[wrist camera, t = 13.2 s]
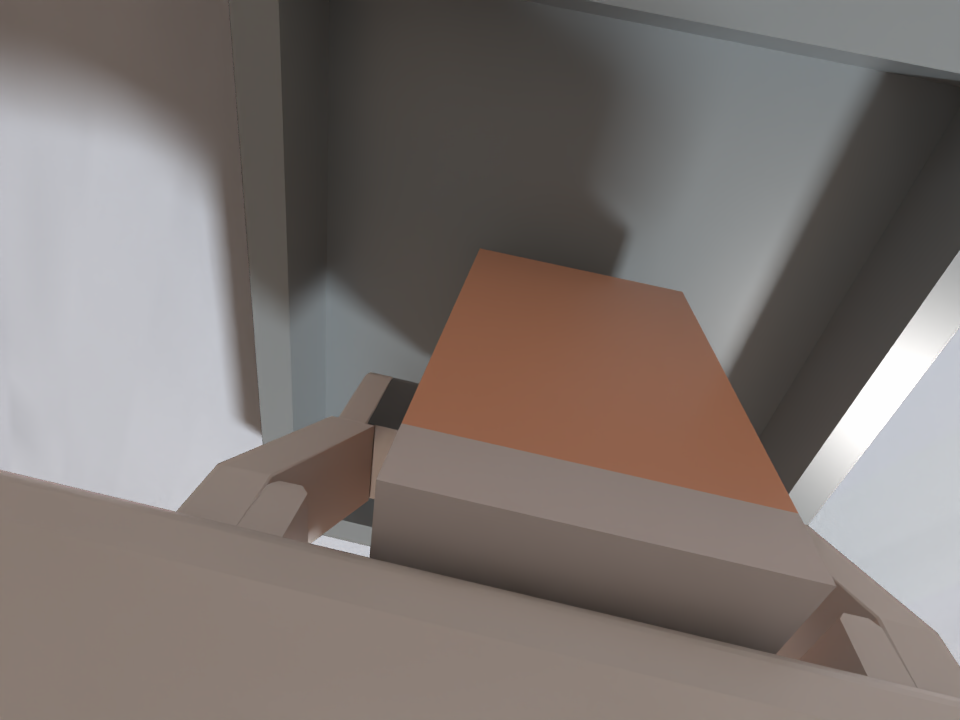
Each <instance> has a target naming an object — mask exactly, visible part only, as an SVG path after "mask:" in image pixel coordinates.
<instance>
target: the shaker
mask: <svg viewBox="0 0 960 720" xmlns="http://www.w3.org/2000/svg"><path fill="white" fill-rule="evenodd" d="M370 558H373V559H377V560H381V561H385V562H390V563H394V564H398V565H402V566H406V567H411V568H415V569H419V570H423V571H427V572H432V573H436V574H440V575H444V576H448V577H453V578H457V579H461V580H465V581H470V582H474V583H478V584H482V585H486V586H491V587H495V588H499V589H503V590H507V591H512V592H516V593H520V594H524V595H529V596H533V597H537V598H541V599H545V600H550V601H554V602H558V603H562V604H567V605H571V606H575V607H579V608H583V609H588V610H592V611H596V612H600V613H604V614H609V615H613V616H617V617H621V618H626V619H630V620H634V621H638V622H642V623H647V624H651V625H655V626H659V627H663V628H667V629H672V630H676V631H680V632H684V633H688V634H692V635H697V636H701V637H705V638H709V639H713V640H717V641H722V642H726V643H730V644H734V645H738V646H743V647H747V648H751V649H755V650H759V651H763V652H768V653H772V654H776V653H777V652H778V651H779V650H780V649H781V648H782V647H783V646H784V644H785V643H786V642H787V641H788V640H789V639H790V638H791V637H792V636H793V634H794V633H795V632H796V631H797V630H798V629H799V628H800V627H801V625H802V624H803V623H804V622H805V621H806V620H807V619H808V618H809V616H810V615H811V614H812V613H813V612H814V611H815V610H816V609H817V608H818V606H819V605H820V604H821V603H822V602H823V601H824V600H825V599H826V597H827V596H828V595H829V594H830V593H831V592H832V591H833V590H834V589H835V587H836V584H835V582H834V580H833V578H832V576H831V574H830V573H829V571H828V569H827V567H826V565H825V563H824V561H823V559H822V557H821V555H820V554H819V552H818V550H817V548H816V546H815V544H814V542H813V540H812V538H811V536H810V534H809V533H808V531H807V529H806V527H805V525H804V523H803V521H802V519H801V517H800V515H799V513H798V512H797V510H796V508H795V506H794V504H793V502H792V500H791V498H790V496H789V494H788V492H787V491H786V489H785V487H784V485H783V483H782V481H781V479H780V477H779V475H778V473H777V471H776V470H775V468H774V466H773V464H772V462H771V460H770V458H769V456H768V454H767V452H766V450H765V449H764V447H763V445H762V443H761V441H760V439H759V437H758V435H757V433H756V431H755V429H754V428H753V426H752V424H751V422H750V420H749V418H748V416H747V414H746V412H745V410H744V408H743V407H742V405H741V403H740V401H739V399H738V397H737V395H736V393H735V391H734V389H733V388H732V386H731V384H730V382H729V380H728V378H727V376H726V374H725V372H724V370H723V368H722V367H721V365H720V363H719V361H718V359H717V357H716V355H715V353H714V351H713V349H712V347H711V346H710V344H709V342H708V340H707V338H706V336H705V334H704V332H703V330H702V328H701V326H700V325H699V323H698V321H697V319H696V317H695V315H694V313H693V311H692V309H691V307H690V305H689V304H688V302H687V300H686V298H685V296H684V294H683V292H681V291H677V290H672V289H667V288H663V287H658V286H653V285H649V284H644V283H639V282H635V281H630V280H625V279H621V278H616V277H611V276H607V275H602V274H597V273H593V272H588V271H583V270H579V269H574V268H569V267H565V266H560V265H555V264H551V263H546V262H541V261H537V260H532V259H527V258H523V257H518V256H513V255H509V254H504V253H499V252H495V251H490V250H485V249H481V248H480V249H479V251H478V254H477V256H476V258H475V260H474V263H473V265H472V267H471V269H470V272H469V274H468V276H467V278H466V280H465V283H464V285H463V287H462V289H461V292H460V294H459V296H458V298H457V301H456V303H455V305H454V307H453V309H452V312H451V314H450V316H449V318H448V321H447V323H446V325H445V327H444V329H443V332H442V334H441V336H440V338H439V341H438V343H437V345H436V347H435V350H434V352H433V354H432V356H431V358H430V361H429V363H428V365H427V367H426V370H425V372H424V374H423V376H422V379H421V381H420V383H419V385H418V387H417V390H416V392H415V394H414V396H413V399H412V401H411V403H410V405H409V408H408V410H407V412H406V414H405V416H404V419H403V421H402V423H401V425H400V428H399V430H398V432H397V434H396V436H395V439H394V441H393V443H392V445H391V448H390V450H389V452H388V454H387V457H386V459H385V461H384V463H383V465H382V468H381V470H380V472H379V474H378V477H377V479H376V488H375V500H374V511H373V523H372V535H371V547H370Z"/></svg>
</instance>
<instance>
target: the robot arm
mask: <svg viewBox="0 0 960 720" xmlns="http://www.w3.org/2000/svg"><path fill="white" fill-rule="evenodd" d="M418 385H419V383H415V382H411V381H407V380H403V379H398V378H392V377H390V376H386V375H381V374H377V373H372V372H370V373H368V374H366V375H365V377H364V378H363V380H362V381H361V383H360V384H359V386H358V388H357V389H356V391H355V392H354V394H353V395H352V397H351V398H350V400H349V402H348V403H347V405H346V406H345V408H344V409H343V411H342V413H341V414H340V416H339V417H334V416H330V417H328V418H325V419H323V420H321V421H318V422H316V423H313V424H311V425H309V426H306V427H304V428H302V429H299V430H297V431H294V432H292V433H290V434H287V435H285V436H283V437H280V438H278V439H275V440H273V441H271V442H268V443H266V444H264V445H261V446H259V447H257V448H254V449H252V450H249V451H247V452H245V453H242V454H240V455H238V456H235V457H233V458H230V459H228V460H226V461H223V462H221V463H219V464H217V465H216V466H215V468H214V469H213V470H212V471H211V472H210V473H209V474H208V476H207V477H206V478H205V479H204V480H203V481H202V483H201V484H200V485H199V486H198V487H197V488H196V489H195V491H194V492H193V493H192V494H191V495H190V496H189V497H188V499H187V500H186V501H185V502H184V503H183V504H182V505H181V507H180V508H179V509H178V510H177V511H176V512H175V511H171V510H167V509H163V508H158V507H154V506H150V505H146V504H142V503H137V502H133V501H129V500H125V499H121V498H117V497H112V496H108V495H104V494H100V493H96V492H91V491H87V490H83V489H79V488H75V487H70V486H66V485H62V484H58V483H54V482H49V481H45V480H41V479H37V478H33V477H28V476H24V475H20V474H16V473H12V472H7V471H3V470H0V720H960V666H959V665H958V663H957V662H956V660H955V659H954V657H953V656H952V654H951V653H950V651H949V650H948V648H947V647H946V645H945V644H944V642H943V640H942V639H941V637H940V636H939V634H938V633H937V632H936V631H934V630H933V629H932V628H931V627H930V626H928V625H927V624H926V623H925V622H924V621H922V620H921V619H920V618H919V617H918V616H916V615H915V614H914V613H913V612H912V611H910V610H909V609H908V608H907V607H906V606H904V605H903V604H902V603H901V602H899V601H898V600H897V599H896V598H895V597H893V596H892V595H891V594H890V593H889V592H887V591H886V590H885V589H884V588H883V587H881V586H880V585H879V584H878V583H877V582H875V581H874V580H873V579H872V578H871V577H869V576H868V575H867V574H866V573H865V572H863V571H862V570H861V569H860V568H859V567H857V566H856V565H855V564H854V563H853V562H851V561H850V560H849V559H848V558H847V557H845V556H844V555H843V554H842V553H840V552H839V551H838V550H837V549H836V548H834V547H833V546H832V545H831V544H830V543H828V542H827V541H826V540H825V539H824V538H822V537H821V536H820V535H819V534H818V533H816V532H815V531H814V530H813V529H812V528H810V527H809V526H808V525H806V524H804V525H805V527H806V529H807V531H808V533H809V534H810V536H811V538H812V540H813V542H814V544H815V546H816V548H817V550H818V552H819V554H820V555H821V557H822V559H823V561H824V563H825V565H826V567H827V569H828V571H829V573H830V574H831V576H832V578H833V580H834V582H835V584H836V587H835V589H834V590H833V591H832V592H831V593H830V594H829V595H828V596H827V597H826V599H825V600H824V601H823V602H822V603H821V604H820V605H819V606H818V608H817V609H816V610H815V611H814V612H813V613H812V614H811V615H810V616H809V618H808V619H807V620H806V621H805V622H804V623H803V624H802V625H801V627H800V628H799V629H798V630H797V631H796V632H795V633H794V634H793V636H792V637H791V638H790V639H789V640H788V641H787V642H786V643H785V644H784V646H783V647H782V648H781V649H780V650H779V651H778V652H777V653H776V654H772V653H768V652H763V651H759V650H755V649H751V648H747V647H743V646H738V645H734V644H730V643H726V642H722V641H717V640H713V639H709V638H705V637H701V636H697V635H692V634H688V633H684V632H680V631H676V630H672V629H667V628H663V627H659V626H655V625H651V624H647V623H642V622H638V621H634V620H630V619H626V618H621V617H617V616H613V615H609V614H604V613H600V612H596V611H592V610H588V609H583V608H579V607H575V606H571V605H567V604H562V603H558V602H554V601H550V600H545V599H541V598H537V597H533V596H529V595H524V594H520V593H516V592H512V591H507V590H503V589H499V588H495V587H491V586H486V585H482V584H478V583H474V582H470V581H465V580H461V579H457V578H453V577H448V576H444V575H440V574H436V573H432V572H427V571H423V570H419V569H415V568H411V567H406V566H402V565H398V564H394V563H390V562H385V561H381V560H377V559H373V558H369V557H364V556H360V555H356V554H352V553H348V552H343V551H339V550H335V549H331V548H327V547H322V546H318V545H314V544H311V543H312V542H313V541H315V540H316V539H317V538H319V537H320V536H321V535H323V534H324V533H325V532H327V531H328V530H329V529H331V528H332V527H333V526H335V525H336V524H337V523H339V522H340V521H341V520H343V519H344V518H345V517H347V516H348V515H350V514H351V513H352V512H354V511H355V510H356V509H358V508H359V507H360V506H362V505H363V504H364V503H366V502H367V501H368V500H369V498H372V499H375V488H376V479H377V477H378V474H379V472H380V470H381V468H382V465H383V463H384V461H385V459H386V457H387V454H388V452H389V450H390V448H391V445H392V443H393V441H394V439H395V436H396V434H397V432H398V430H399V428H400V425H401V423H402V421H403V419H404V416H405V414H406V412H407V410H408V408H409V405H410V403H411V401H412V399H413V396H414V394H415V392H416V390H417V387H418Z"/></svg>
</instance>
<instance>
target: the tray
mask: <svg viewBox="0 0 960 720" xmlns="http://www.w3.org/2000/svg"><path fill="white" fill-rule="evenodd" d="M229 13H230V26H231V39H232V52H233V65H234V78H235V91H236V104H237V117H238V130H239V143H240V156H241V169H242V182H243V195H244V208H245V221H246V234H247V247H248V260H249V273H250V286H251V299H252V312H253V325H254V338H255V351H256V364H257V377H258V390H259V403H260V416H261V428H262V441H263V445H264V444H266V443H268V442H271V441H273V440H275V439H278V438H280V437H283V436H285V435H287V434H290V433H292V432H294V431H297V430H299V429H302V428H304V427H306V426H309V425H311V424H313V423H316V422H318V421H321V420H323V419H325V418H328V417H330V416H334V417H339V416H340V414H341V413H342V411H343V409H344V408H345V406H346V405H347V403H348V402H349V400H350V398H351V397H352V395H353V394H354V392H355V391H356V389H357V388H358V386H359V384H360V383H361V381H362V380H363V378H364V377H365V375H366V374H368V373H370V372H372V373H377V374H381V375H386V376H390V377H392V378H398V379H403V380H407V381H411V382H415V383H420V381H421V379H422V376H423V374H424V372H425V370H426V367H427V365H428V363H429V361H430V358H431V356H432V354H433V352H434V350H435V347H436V345H437V343H438V341H439V338H440V336H441V334H442V332H443V329H444V327H445V325H446V323H447V321H448V318H449V316H450V314H451V312H452V309H453V307H454V305H455V303H456V301H457V298H458V296H459V294H460V292H461V289H462V287H463V285H464V283H465V280H466V278H467V276H468V274H469V272H470V269H471V267H472V265H473V263H474V260H475V258H476V256H477V254H478V251H479V249H480V248H481V249H485V250H490V251H495V252H499V253H504V254H509V255H513V256H518V257H523V258H527V259H532V260H537V261H541V262H546V263H551V264H555V265H560V266H565V267H569V268H574V269H579V270H583V271H588V272H593V273H597V274H602V275H607V276H611V277H616V278H621V279H625V280H630V281H635V282H639V283H644V284H649V285H653V286H658V287H663V288H667V289H672V290H677V291H681V292H683V294H684V296H685V298H686V300H687V302H688V304H689V305H690V307H691V309H692V311H693V313H694V315H695V317H696V319H697V321H698V323H699V325H700V326H701V328H702V330H703V332H704V334H705V336H706V338H707V340H708V342H709V344H710V346H711V347H712V349H713V351H714V353H715V355H716V357H717V359H718V361H719V363H720V365H721V367H722V368H723V370H724V372H725V374H726V376H727V378H728V380H729V382H730V384H731V386H732V388H733V389H734V391H735V393H736V395H737V397H738V399H739V401H740V403H741V405H742V407H743V408H744V410H745V412H746V414H747V416H748V418H749V420H750V422H751V424H752V426H753V428H754V429H755V431H756V433H757V435H758V437H759V439H760V441H761V443H762V445H763V447H764V449H765V450H766V452H767V454H768V456H769V458H770V460H771V462H772V464H773V466H774V468H775V470H776V471H777V473H778V475H779V477H780V479H781V481H782V483H783V485H784V487H785V489H786V491H787V492H788V494H789V496H790V498H791V500H792V502H793V504H794V506H795V508H796V510H797V512H798V513H799V515H800V517H801V519H802V521H803V523H804V524H806V525H809V523H810V522H811V521H812V519H813V518H814V517H815V516H816V514H817V513H818V512H819V510H820V509H821V508H822V506H823V505H824V504H825V502H826V501H827V500H828V499H829V497H830V496H831V495H832V493H833V492H834V491H835V489H836V488H837V487H838V485H839V484H840V483H841V482H842V480H843V479H844V478H845V476H846V475H847V474H848V472H849V471H850V470H851V469H852V467H853V466H854V465H855V463H856V462H857V461H858V459H859V458H860V457H861V455H862V454H863V453H864V452H865V450H866V449H867V448H868V446H869V445H870V444H871V442H872V441H873V440H874V438H875V437H876V436H877V435H878V433H879V432H880V431H881V429H882V428H883V427H884V425H885V424H886V423H887V421H888V420H889V419H890V418H891V416H892V415H893V414H894V412H895V411H896V410H897V408H898V407H899V406H900V404H901V403H902V402H903V401H904V399H905V398H906V397H907V395H908V394H909V393H910V391H911V390H912V389H913V388H914V386H915V385H916V384H917V382H918V381H919V380H920V378H921V377H922V376H923V374H924V373H925V372H926V371H927V369H928V368H929V367H930V365H931V364H932V363H933V361H934V360H935V359H936V357H937V356H938V355H939V354H940V352H941V351H942V350H943V348H944V347H945V346H946V344H947V343H948V342H949V340H950V339H951V338H952V337H953V335H954V334H955V333H956V331H957V330H958V329H959V327H960V0H229ZM374 500H375V499H372V498H369V500H368V501H367V502H366V503H364V504H363V505H362V506H360V507H359V508H358V509H356V510H355V511H354V512H352V513H351V514H350V515H348V516H347V517H345V518H344V519H343V520H341V521H340V522H339V523H337V524H336V525H335V526H333V527H332V528H331V529H329V530H328V531H327V532H325V533H324V534H323V535H324V536H328V537H332V538H337V539H341V540H345V541H349V542H354V543H358V544H362V545H366V546H370V547H371V535H372V523H373V511H374Z"/></svg>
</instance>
